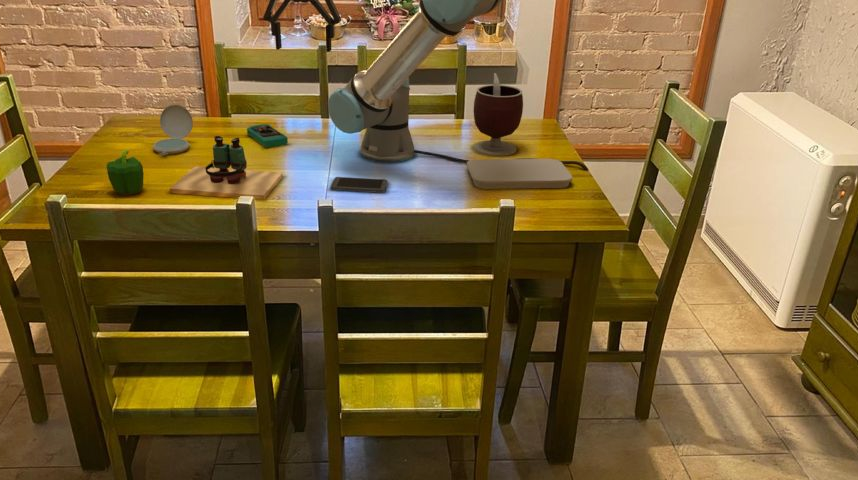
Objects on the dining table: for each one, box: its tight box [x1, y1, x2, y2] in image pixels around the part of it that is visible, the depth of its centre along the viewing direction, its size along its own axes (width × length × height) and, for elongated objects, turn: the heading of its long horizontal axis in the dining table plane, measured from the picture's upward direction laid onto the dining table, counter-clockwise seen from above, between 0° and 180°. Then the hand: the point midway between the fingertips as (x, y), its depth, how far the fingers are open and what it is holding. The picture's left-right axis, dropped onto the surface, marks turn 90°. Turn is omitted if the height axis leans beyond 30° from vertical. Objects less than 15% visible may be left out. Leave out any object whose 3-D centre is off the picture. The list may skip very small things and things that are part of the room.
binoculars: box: [204, 135, 248, 184], centre depth 184 cm, size 9×11×10 cm
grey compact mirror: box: [152, 104, 194, 156], centre depth 207 cm, size 10×11×15 cm
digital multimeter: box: [246, 123, 289, 149], centre depth 217 cm, size 7×15×3 cm, turn 32°
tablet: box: [466, 158, 573, 190], centre depth 194 cm, size 16×26×2 cm, turn 94°
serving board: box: [169, 165, 284, 201], centre depth 186 cm, size 24×16×1 cm, turn 82°
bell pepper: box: [106, 149, 145, 195], centre depth 179 cm, size 8×8×10 cm
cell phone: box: [330, 176, 389, 193], centre depth 187 cm, size 7×14×1 cm, turn 85°
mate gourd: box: [473, 72, 524, 157], centre depth 211 cm, size 16×14×20 cm
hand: (303, 49), depth 195 cm, fingers open, 13 cm apart
